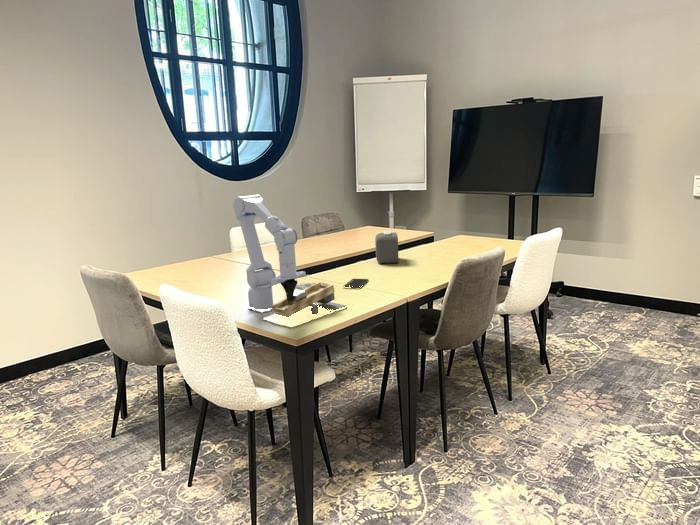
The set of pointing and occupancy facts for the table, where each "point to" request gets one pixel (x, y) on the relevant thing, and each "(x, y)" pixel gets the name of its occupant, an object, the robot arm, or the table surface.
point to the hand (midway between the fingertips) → (290, 300)
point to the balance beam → (305, 300)
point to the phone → (356, 283)
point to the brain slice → (307, 285)
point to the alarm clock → (387, 247)
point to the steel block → (298, 296)
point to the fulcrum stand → (326, 306)
